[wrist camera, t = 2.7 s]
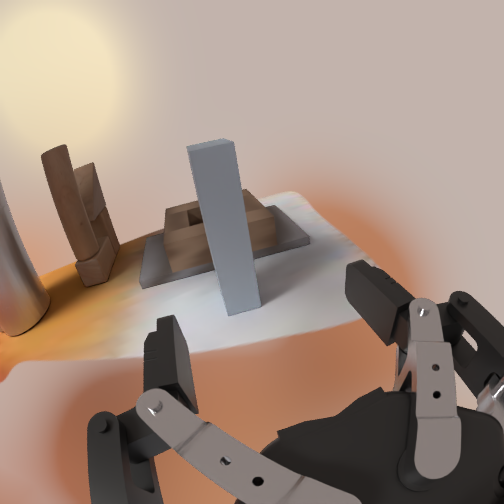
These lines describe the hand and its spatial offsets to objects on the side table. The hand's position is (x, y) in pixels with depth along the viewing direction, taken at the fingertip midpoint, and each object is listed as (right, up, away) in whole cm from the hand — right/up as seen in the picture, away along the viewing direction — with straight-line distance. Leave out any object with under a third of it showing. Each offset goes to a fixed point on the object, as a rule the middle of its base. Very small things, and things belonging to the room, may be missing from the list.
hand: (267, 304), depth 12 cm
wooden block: (-22, 0, +24) cm, 32 cm away
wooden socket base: (-5, +3, +24) cm, 25 cm away
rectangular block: (-2, -2, +14) cm, 14 cm away
